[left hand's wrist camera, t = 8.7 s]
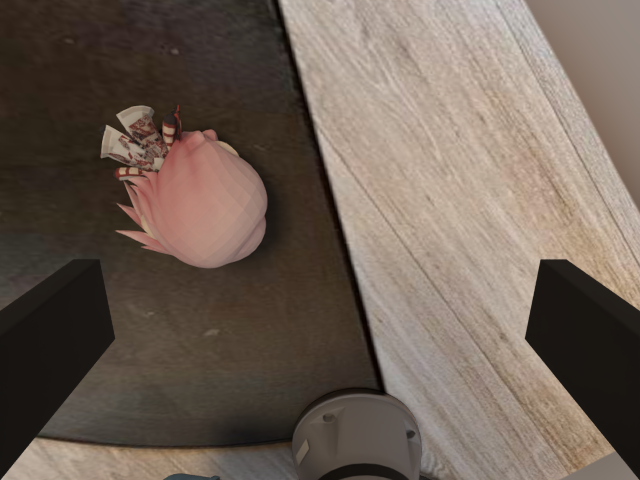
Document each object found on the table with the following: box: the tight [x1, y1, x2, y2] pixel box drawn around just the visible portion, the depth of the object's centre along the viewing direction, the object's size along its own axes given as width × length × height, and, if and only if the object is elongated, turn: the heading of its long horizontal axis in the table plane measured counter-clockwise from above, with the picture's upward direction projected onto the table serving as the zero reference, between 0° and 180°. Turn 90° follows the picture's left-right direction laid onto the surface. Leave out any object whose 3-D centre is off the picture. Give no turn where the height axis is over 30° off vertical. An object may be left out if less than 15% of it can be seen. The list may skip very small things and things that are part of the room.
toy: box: [99, 106, 267, 268], centre depth 35 cm, size 12×11×15 cm
